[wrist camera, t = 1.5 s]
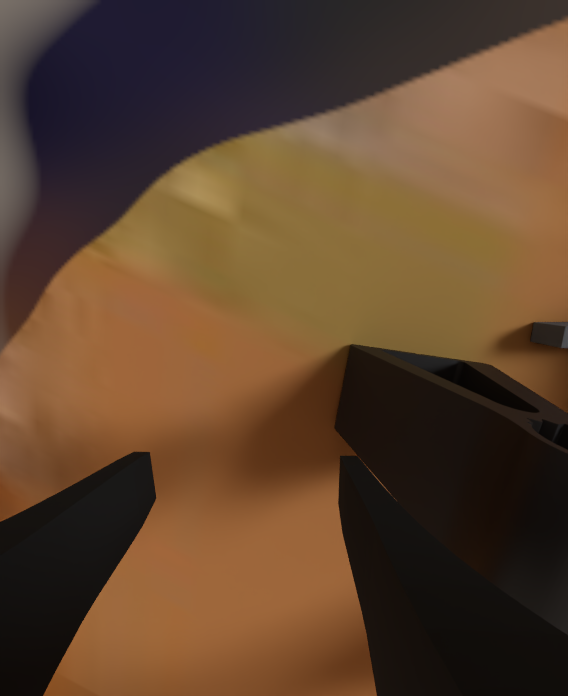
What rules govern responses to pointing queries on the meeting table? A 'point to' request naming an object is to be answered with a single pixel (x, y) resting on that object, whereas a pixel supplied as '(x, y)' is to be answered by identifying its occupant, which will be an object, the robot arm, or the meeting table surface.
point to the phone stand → (468, 464)
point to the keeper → (550, 333)
